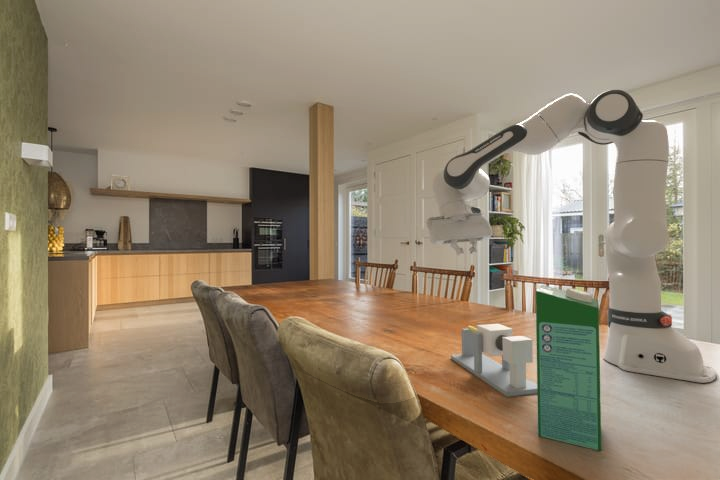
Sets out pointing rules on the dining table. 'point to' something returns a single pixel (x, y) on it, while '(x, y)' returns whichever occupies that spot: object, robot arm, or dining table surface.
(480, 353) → the bearing mount fixture
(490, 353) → the sleeve
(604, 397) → the dining table surface
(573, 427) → the milk carton
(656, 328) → the robot arm
